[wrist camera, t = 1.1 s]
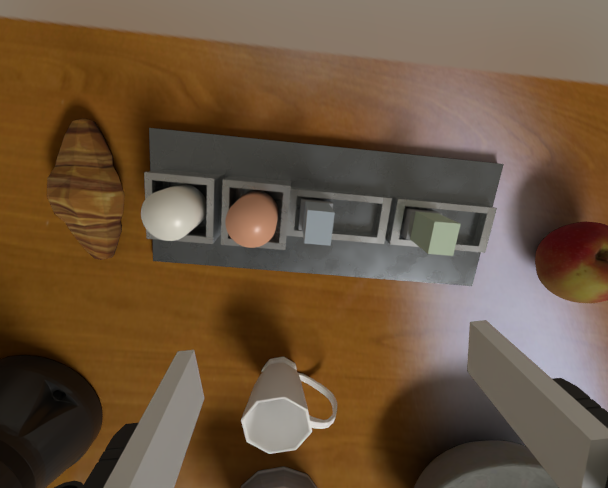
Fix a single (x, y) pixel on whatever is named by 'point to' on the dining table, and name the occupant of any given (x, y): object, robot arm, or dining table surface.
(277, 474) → the can
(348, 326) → the dining table surface
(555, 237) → the apple
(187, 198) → the button cream
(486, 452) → the bowl
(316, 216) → the block
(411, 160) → the panel
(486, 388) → the robot arm
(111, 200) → the croissant
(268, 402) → the cup
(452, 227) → the slider sage
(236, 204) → the button terracotta
